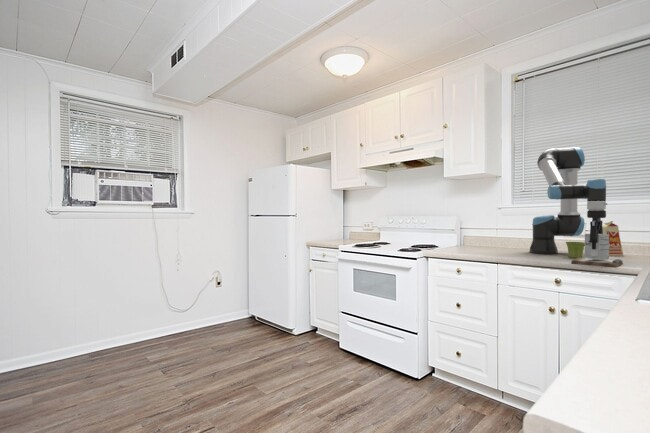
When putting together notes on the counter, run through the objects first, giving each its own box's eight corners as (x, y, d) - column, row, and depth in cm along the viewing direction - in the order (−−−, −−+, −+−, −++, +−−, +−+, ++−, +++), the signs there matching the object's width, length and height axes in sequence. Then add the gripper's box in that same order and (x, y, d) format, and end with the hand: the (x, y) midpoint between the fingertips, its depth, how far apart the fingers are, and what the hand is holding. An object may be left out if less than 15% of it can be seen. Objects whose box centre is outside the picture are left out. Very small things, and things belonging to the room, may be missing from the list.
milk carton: (623, 255, 206) (623, 220, 205) (605, 255, 208) (605, 221, 207) (614, 253, 215) (614, 220, 214) (596, 253, 216) (596, 220, 216)
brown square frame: (571, 263, 182) (571, 258, 182) (579, 260, 192) (579, 255, 192) (616, 267, 168) (616, 262, 168) (622, 263, 178) (622, 258, 178)
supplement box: (583, 258, 182) (583, 233, 182) (594, 257, 185) (594, 233, 185) (599, 260, 175) (599, 234, 175) (609, 259, 178) (609, 233, 178)
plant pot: (578, 256, 207) (578, 241, 206) (590, 258, 197) (590, 242, 197) (561, 256, 207) (561, 241, 206) (573, 259, 197) (573, 243, 197)
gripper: (600, 210, 170) (601, 257, 170) (610, 209, 184) (610, 253, 185) (581, 210, 175) (582, 256, 176) (592, 209, 190) (592, 252, 190)
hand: (596, 254), depth 180 cm, fingers closed on supplement box, 9 cm apart
